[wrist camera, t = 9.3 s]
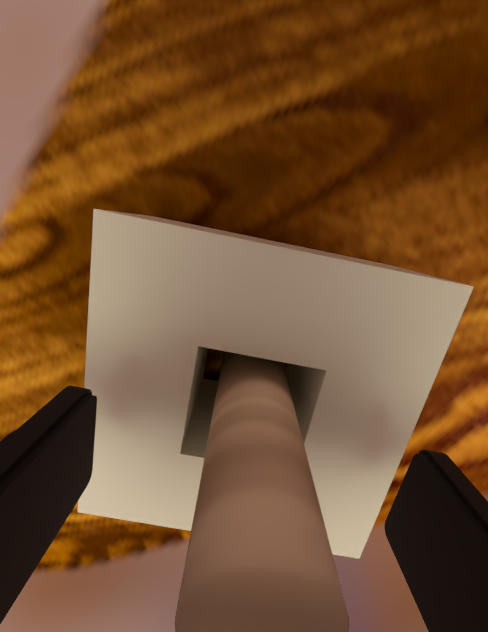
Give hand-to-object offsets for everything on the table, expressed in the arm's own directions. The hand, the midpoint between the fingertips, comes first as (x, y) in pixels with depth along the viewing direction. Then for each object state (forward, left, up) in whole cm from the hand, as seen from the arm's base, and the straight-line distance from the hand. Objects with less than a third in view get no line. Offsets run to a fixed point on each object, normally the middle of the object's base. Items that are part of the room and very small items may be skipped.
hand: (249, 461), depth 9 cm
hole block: (0, 0, -8) cm, 8 cm away
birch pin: (0, 0, -8) cm, 8 cm away
